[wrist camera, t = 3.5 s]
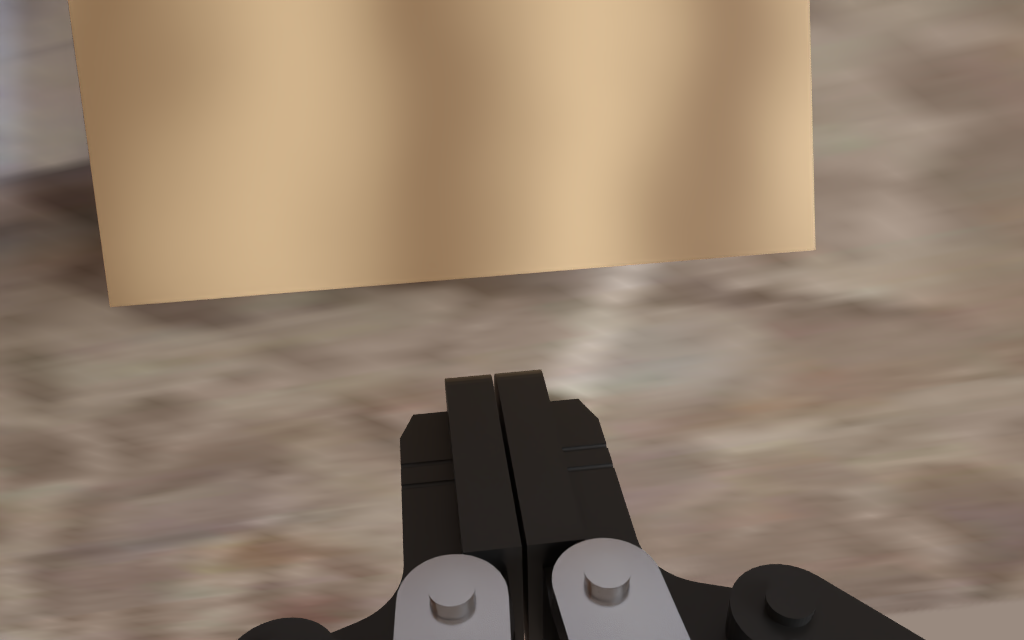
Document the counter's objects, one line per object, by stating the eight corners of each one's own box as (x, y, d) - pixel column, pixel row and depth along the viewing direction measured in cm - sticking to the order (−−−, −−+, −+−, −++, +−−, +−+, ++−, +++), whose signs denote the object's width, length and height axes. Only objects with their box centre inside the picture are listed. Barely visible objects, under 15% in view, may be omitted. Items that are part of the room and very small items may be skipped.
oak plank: (772, -76, 22) (807, -103, 20) (782, 245, 23) (815, 249, 21) (93, -42, 21) (58, -67, 19) (139, 296, 22) (109, 306, 20)
